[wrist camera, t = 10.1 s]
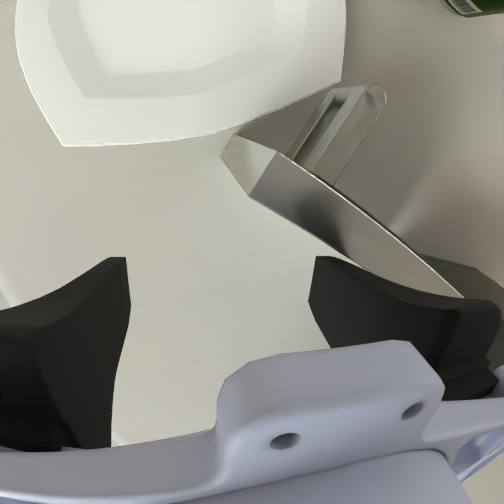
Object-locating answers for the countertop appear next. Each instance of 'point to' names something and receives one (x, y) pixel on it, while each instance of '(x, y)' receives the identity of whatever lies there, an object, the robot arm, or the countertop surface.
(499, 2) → the beer can
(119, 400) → the countertop surface
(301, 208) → the microwave door
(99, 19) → the plate
